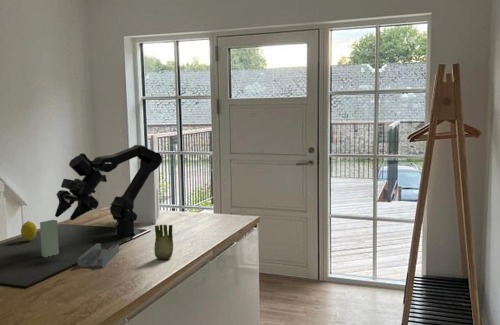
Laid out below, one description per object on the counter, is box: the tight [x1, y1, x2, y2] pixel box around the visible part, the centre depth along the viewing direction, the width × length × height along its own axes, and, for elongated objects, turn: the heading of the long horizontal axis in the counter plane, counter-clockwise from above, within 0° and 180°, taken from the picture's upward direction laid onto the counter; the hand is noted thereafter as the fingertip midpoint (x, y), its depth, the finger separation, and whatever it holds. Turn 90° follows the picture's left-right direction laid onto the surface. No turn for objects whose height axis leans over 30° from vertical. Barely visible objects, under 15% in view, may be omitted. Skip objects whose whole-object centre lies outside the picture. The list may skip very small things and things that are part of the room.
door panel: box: [39, 219, 60, 258], centre depth 163 cm, size 5×2×12 cm, turn 144°
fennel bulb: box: [153, 224, 174, 260], centre depth 157 cm, size 6×5×12 cm
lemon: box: [20, 220, 37, 242], centre depth 181 cm, size 6×6×8 cm
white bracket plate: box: [132, 133, 160, 226], centre depth 216 cm, size 20×14×40 cm
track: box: [77, 242, 120, 269], centre depth 158 cm, size 18×8×3 cm, turn 179°
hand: (63, 218), depth 167 cm, fingers open, 9 cm apart
